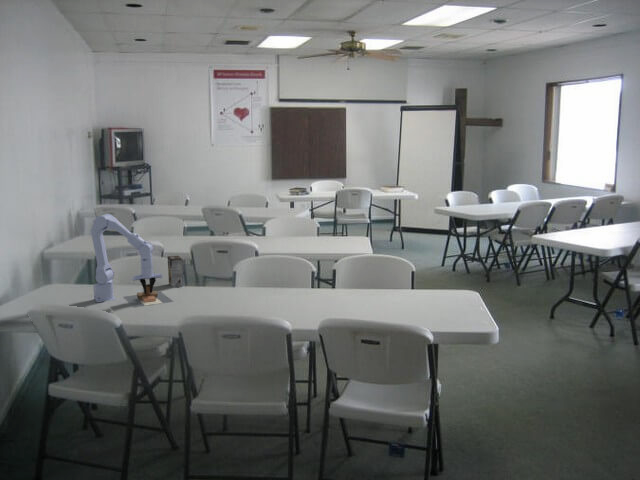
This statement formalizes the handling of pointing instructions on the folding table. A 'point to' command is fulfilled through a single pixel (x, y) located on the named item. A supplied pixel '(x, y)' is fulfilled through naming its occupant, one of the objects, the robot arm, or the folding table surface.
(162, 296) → the slate board
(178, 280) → the coffee box
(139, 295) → the brown t-shaped block
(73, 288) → the folding table surface
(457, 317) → the folding table surface
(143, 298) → the tile
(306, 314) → the folding table surface
